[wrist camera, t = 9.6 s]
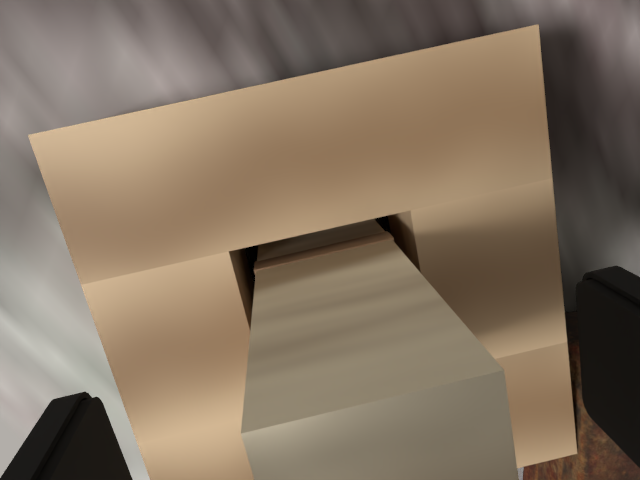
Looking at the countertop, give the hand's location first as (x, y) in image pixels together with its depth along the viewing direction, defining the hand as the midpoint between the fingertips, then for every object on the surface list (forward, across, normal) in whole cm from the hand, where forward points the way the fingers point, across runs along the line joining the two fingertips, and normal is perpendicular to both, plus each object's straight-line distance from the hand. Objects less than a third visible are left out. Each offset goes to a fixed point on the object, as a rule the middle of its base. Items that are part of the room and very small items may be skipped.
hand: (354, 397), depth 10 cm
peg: (+10, 0, +1) cm, 10 cm away
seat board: (+10, 0, +1) cm, 10 cm away
